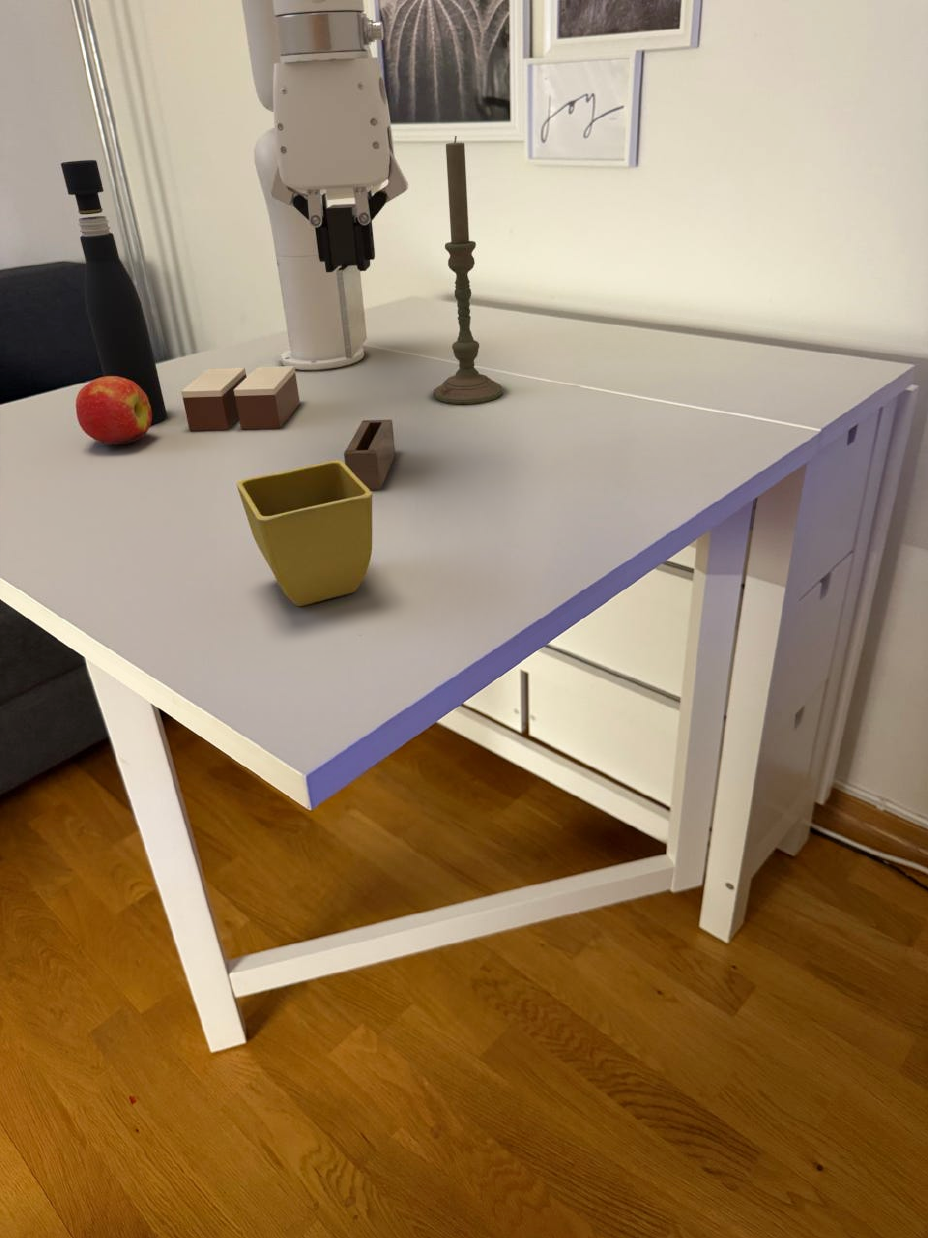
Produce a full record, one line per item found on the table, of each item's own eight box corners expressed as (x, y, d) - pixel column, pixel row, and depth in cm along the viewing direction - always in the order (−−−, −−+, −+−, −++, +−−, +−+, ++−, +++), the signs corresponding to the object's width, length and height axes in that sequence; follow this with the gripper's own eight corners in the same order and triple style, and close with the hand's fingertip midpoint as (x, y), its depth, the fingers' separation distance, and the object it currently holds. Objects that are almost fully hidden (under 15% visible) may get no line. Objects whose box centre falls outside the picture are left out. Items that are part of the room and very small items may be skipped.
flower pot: (278, 626, 69) (258, 518, 64) (254, 579, 76) (234, 479, 71) (386, 598, 72) (374, 493, 67) (353, 555, 79) (340, 458, 74)
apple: (130, 456, 104) (113, 388, 100) (70, 453, 107) (51, 386, 103) (169, 434, 111) (154, 369, 107) (111, 431, 113) (94, 367, 109)
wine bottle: (152, 428, 113) (88, 162, 98) (106, 427, 115) (36, 165, 99) (176, 412, 119) (118, 157, 103) (132, 411, 120) (69, 160, 105)
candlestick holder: (513, 386, 120) (506, 131, 105) (486, 407, 113) (474, 137, 98) (452, 381, 124) (436, 134, 108) (421, 401, 116) (400, 140, 101)
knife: (352, 338, 93) (337, 201, 87) (375, 338, 93) (362, 200, 86) (336, 358, 86) (319, 211, 80) (361, 358, 86) (345, 210, 80)
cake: (215, 406, 120) (208, 368, 117) (251, 405, 119) (245, 367, 117) (189, 430, 111) (180, 391, 109) (228, 429, 111) (220, 389, 108)
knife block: (366, 454, 101) (362, 419, 99) (395, 453, 100) (392, 419, 98) (348, 490, 92) (343, 453, 90) (380, 489, 91) (376, 452, 89)
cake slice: (263, 404, 119) (257, 366, 117) (300, 403, 119) (294, 365, 116) (240, 429, 111) (233, 389, 108) (280, 428, 110) (273, 388, 108)
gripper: (421, 36, 79) (436, 258, 88) (244, 47, 80) (277, 264, 90) (410, 33, 72) (427, 273, 82) (217, 46, 74) (256, 280, 84)
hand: (348, 267), depth 86 cm, fingers closed on knife, 2 cm apart
